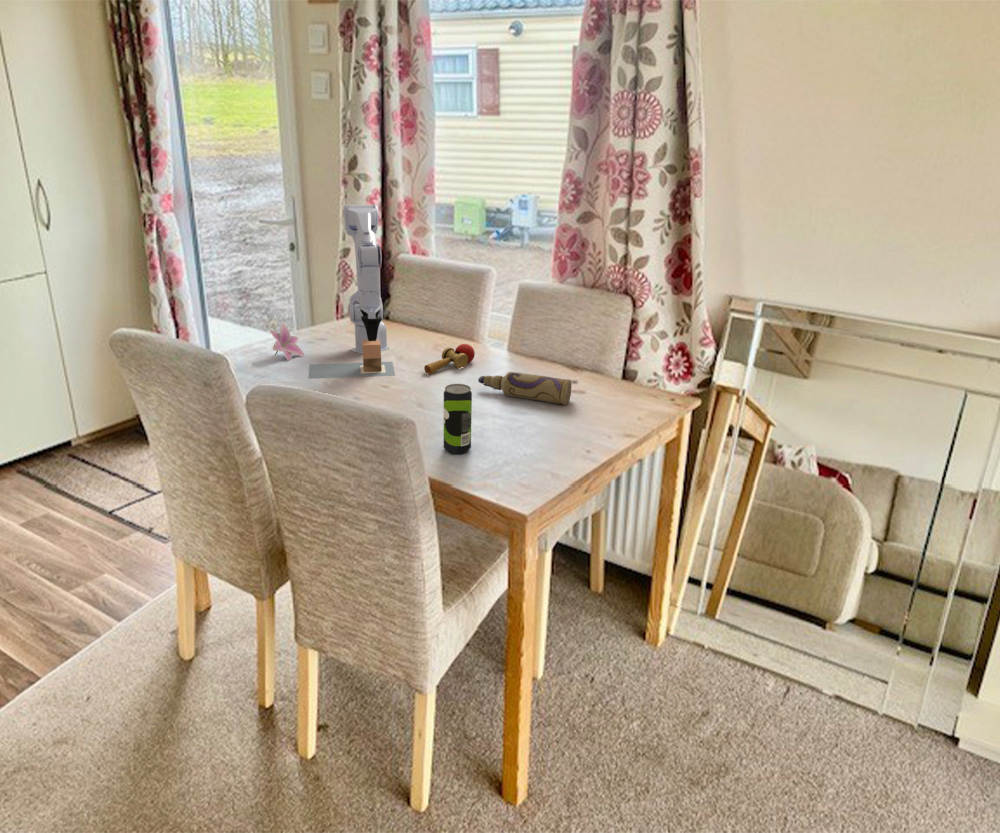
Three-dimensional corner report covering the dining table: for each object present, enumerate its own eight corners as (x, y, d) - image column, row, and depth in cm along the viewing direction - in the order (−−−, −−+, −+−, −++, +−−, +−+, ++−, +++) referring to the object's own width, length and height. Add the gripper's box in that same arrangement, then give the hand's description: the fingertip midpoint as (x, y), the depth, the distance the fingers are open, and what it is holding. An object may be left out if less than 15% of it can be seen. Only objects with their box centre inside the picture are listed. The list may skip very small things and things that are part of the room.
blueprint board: (392, 362, 232) (392, 361, 232) (395, 376, 221) (395, 375, 221) (309, 365, 228) (309, 364, 228) (308, 379, 217) (308, 378, 217)
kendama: (439, 382, 222) (482, 360, 233) (434, 362, 220) (478, 340, 231) (422, 380, 227) (465, 359, 239) (416, 360, 225) (460, 339, 237)
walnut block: (380, 365, 228) (380, 352, 227) (381, 371, 224) (381, 358, 222) (363, 366, 227) (362, 353, 226) (363, 372, 223) (363, 358, 221)
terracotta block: (380, 352, 227) (379, 339, 225) (381, 358, 222) (380, 344, 221) (362, 353, 226) (362, 340, 224) (363, 358, 221) (362, 345, 220)
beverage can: (470, 444, 181) (471, 383, 175) (470, 455, 175) (471, 393, 169) (444, 443, 181) (444, 383, 175) (443, 455, 175) (443, 393, 169)
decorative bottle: (572, 399, 209) (574, 376, 207) (564, 409, 203) (566, 385, 200) (483, 384, 218) (484, 362, 215) (473, 393, 211) (473, 370, 209)
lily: (267, 369, 227) (280, 343, 223) (252, 344, 233) (264, 319, 229) (302, 373, 236) (315, 348, 232) (287, 349, 242) (300, 324, 238)
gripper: (354, 283, 222) (356, 329, 228) (356, 296, 209) (358, 344, 214) (379, 283, 224) (381, 329, 229) (382, 295, 211) (383, 344, 216)
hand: (371, 336), depth 222 cm, fingers open, 7 cm apart
